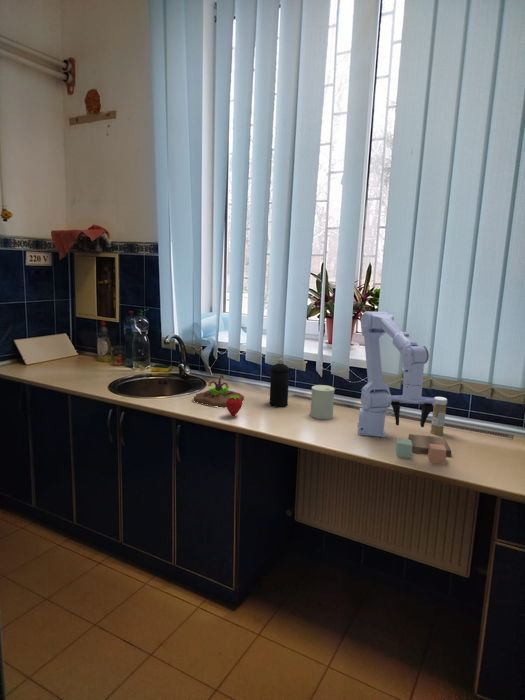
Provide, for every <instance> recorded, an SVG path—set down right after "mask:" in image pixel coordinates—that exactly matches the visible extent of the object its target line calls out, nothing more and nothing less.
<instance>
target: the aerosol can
mask: <svg viewBox="0 0 525 700" xmlns="http://www.w3.org/2000/svg"><path fill="white" fill-rule="evenodd" d="M290 370H291V369H290V367H289V366H288V365H286V364H285V363H284V359H283V358H282V357H281V358H278V359H277V363H275V364H273V365H272V366H271V367H270V382H269V383H270V384H269V389H270V390H269V402H268V405H269V404H270V405H271V406H270V405H269V406H270V407H272V406H275V407H274V408H278V407H282V408H286V407H285V406H287V405H288V406H289V402H288V400H289V381H290ZM288 406H287V407H288Z"/></svg>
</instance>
